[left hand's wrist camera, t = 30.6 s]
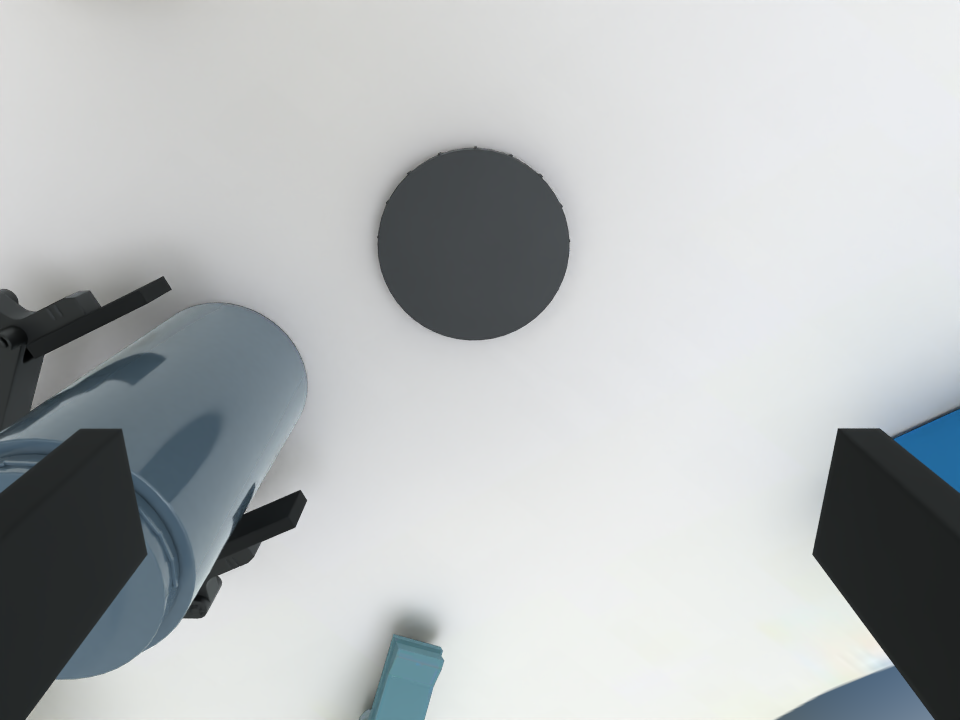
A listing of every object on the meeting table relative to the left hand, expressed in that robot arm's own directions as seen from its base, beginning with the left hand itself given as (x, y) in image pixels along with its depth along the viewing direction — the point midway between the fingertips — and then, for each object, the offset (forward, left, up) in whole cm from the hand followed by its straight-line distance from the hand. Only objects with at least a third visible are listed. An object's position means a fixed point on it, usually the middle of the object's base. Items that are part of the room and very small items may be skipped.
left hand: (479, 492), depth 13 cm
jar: (-3, -17, -28) cm, 33 cm away
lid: (0, 0, -27) cm, 27 cm away
